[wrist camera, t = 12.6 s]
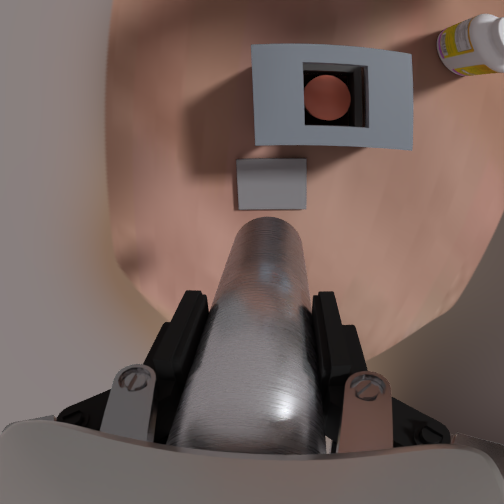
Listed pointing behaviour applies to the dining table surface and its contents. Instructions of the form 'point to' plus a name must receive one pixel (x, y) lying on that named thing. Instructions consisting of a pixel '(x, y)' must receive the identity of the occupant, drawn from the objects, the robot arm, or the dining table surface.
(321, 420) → the silver metal cylinder
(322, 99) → the button
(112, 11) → the dining table surface
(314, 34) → the dining table surface
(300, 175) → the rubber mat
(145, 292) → the dining table surface
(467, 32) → the supplement bottle
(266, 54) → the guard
